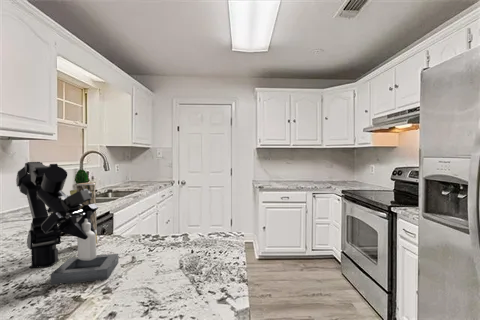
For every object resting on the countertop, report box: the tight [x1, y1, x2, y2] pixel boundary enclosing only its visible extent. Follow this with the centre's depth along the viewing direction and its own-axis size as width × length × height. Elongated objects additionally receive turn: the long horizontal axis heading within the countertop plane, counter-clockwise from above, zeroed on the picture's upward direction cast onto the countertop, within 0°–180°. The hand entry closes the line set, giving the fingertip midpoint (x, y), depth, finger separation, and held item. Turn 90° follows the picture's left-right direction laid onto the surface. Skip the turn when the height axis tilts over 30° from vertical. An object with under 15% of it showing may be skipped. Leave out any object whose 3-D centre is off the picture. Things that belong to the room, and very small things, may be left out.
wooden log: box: [75, 182, 98, 244], centre depth 123 cm, size 7×7×25 cm
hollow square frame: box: [50, 253, 119, 286], centre depth 91 cm, size 14×14×3 cm
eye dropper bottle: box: [76, 219, 97, 261], centre depth 91 cm, size 4×6×12 cm
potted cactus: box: [69, 169, 90, 195], centre depth 216 cm, size 15×15×30 cm
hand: (90, 236), depth 91 cm, fingers closed on eye dropper bottle, 4 cm apart
